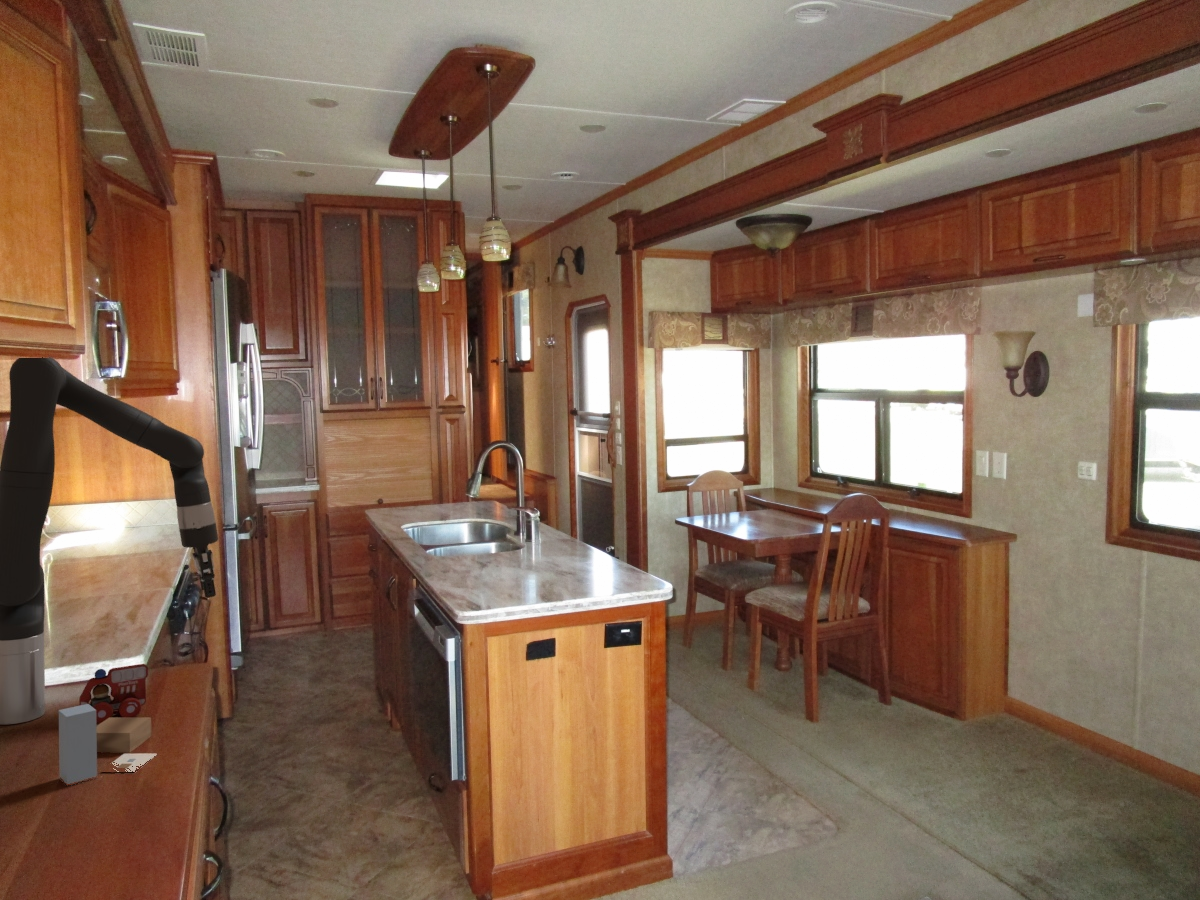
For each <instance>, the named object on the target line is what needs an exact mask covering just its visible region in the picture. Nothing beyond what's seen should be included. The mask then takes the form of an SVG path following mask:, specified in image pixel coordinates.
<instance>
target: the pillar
mask: <svg viewBox="0 0 1200 900" xmlns="http://www.w3.org/2000/svg"><path fill="white" fill-rule="evenodd" d="M89 704H90V703H89ZM89 704H85V705H80V706H79V705H76V706H71V707H66V708H62V709H59V710H58V751H59V752H58V753H59V755H58V756H59V757H58V760H59V764H58V765H59V778H60V777H61V778H62V779H63V780H64V782H65V783H67V784H70V783H74V782H78V781H82V780H84V779H88V778H92V777H96V776H97V777H98V753H97V728H96V726H97V723H96V710H95V709H94V708H93V707H92V706H90V705H89Z"/></svg>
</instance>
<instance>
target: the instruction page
mask: <svg viewBox="0 0 1200 900" xmlns="http://www.w3.org/2000/svg"><path fill="white" fill-rule="evenodd" d="M154 756H155V757H156V756H157V753H123V754H121V755H120V756H119V757H117V758H116V759H115V760H114V761H112V762H111V763H112V764H113V765H114V764H115V765H114V766H116V765H118V764H119V766H116V767H117V768H125V769H126V770H127V771H128V772H132V771H133V772H135V770H136V768H137V769H139V768H138V767H136V766H139V767H140V766H142V765H144V764H145V763H146V762H147V761H149V760H150V759H151V760H152V759H153V758H155V757H154ZM151 760H150V761H151ZM150 761H149V762H150ZM113 762H115V763H113ZM116 763H117V764H116ZM147 763H148V762H147ZM147 763H146V764H147ZM140 764H141V765H140ZM146 764H145V765H146ZM145 765H144V766H145ZM132 766H133V767H132ZM142 767H143V766H142ZM127 768H129V769H130V770H131V771H130V770H129V769H127ZM113 769H114V768H113ZM114 770H116V769H114ZM126 770H125V771H126ZM139 770H140V769H139ZM116 771H117V770H116ZM127 771H126V772H127ZM117 772H119V771H117ZM135 773H136V772H135Z"/></svg>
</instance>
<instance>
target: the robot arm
mask: <svg viewBox="0 0 1200 900" xmlns="http://www.w3.org/2000/svg"><path fill="white" fill-rule="evenodd" d="M51 357H52V356H50V357H49V358H43V357H42V358H19V357H18V358H17V359H16V360H15V361H14V362H13V363H12V365H11V367H10V368H9V390H10V391H9V394H10V395H9V396H10V402H9V403H10V406H9V407H10V412H9V422H8V428H7V431H6V435H5V439H4V444H3V448H2V454H1V459H0V460H1V461H0V725H14V724H15V725H16V724H21V723H26V722H29V721H33V720H36V719H38V718H40V717H42V716H44V714H45V713H46V700H45V699H46V697H45V696H46V686H45V685H46V683H45V682H46V681H45V678H46V677H45V676H46V674H45V669H46V668H45V574H44V573H45V572H44V570H43V567H42V565H41V539H42V534H43V529H44V526H45V524H46V523H45V522H46V520H47V515H48V512H49V508H50V504H51V501H52V494H53V486H54V478H55V470H56V469H55V468H56V467H55V465H56V461H55V460H56V454H55V439H54V420H55V419H54V418H55V413H56V408H57V405H59V406H61V407H62V408H66V409H68V410H70V411H73V412H75V413H77V414H78V415H80V416H83V418H86V419H88V420H89V421H92V422H93V423H95V424H96V425H98V426H100V427H102V429H105V430H106V431H108V432H110V433H112V434H113V435H115V436H118V437H119V438H121V439H123V440H125V441H127V442H129V443H132V444H134V445H135V446H137V447H139V448H142V449H145V450H148V451H150V452H151V453H153V454H155V455H157V456H158V457H160V458H162V459H163V460H166V461H167V462H168V463H169V464H168V465H169V468H170V471H171V472H170V473H171V477H172V479H173V491H174V498H175V503H176V510H177V511H176V514H177V515H176V518H177V524H178V530H179V531H178V532H179V536H180V541H181V542H180V543H181V546H182V547H183V548H186V549H187V548H192V550H193V552H192V553H191V557H192V560H193V562H194V569H196V573H197V575H198V578H199V583H200V589H201V591H203V592H204V597H205V599H209V598H213V597H215V596H216V595H217V594H216V593H217V592H216V587H215V581H214V580H215V577H216V575H215V573H214V571H215V564H214V555H213V551H212V549H209V548H208V546H209V545H212V544H215V543H216V542H218V540H219V534H218V529H217V523H216V517H215V512H214V507H213V505H212V500H211V494H210V486H209V484H208V481H207V478H206V476H205V469H204V462H203V461H204V460H203V459H204V456H205V455H204V453H205V449H204V446H203V445H202V443H201V442H200V441H199V440H198V439H197V438H194V437H193V436H191V435H188V434H186V433H185V432H182V431H180V430H178V429H176V428H173V427H171V426H169V425H167V424H165V423H164V422H162V420H160V419H158V418H156V417H154V416H152V415H150V413H149V414H148V413H146V412H145V411H144V410H141V409H139V408H138V407H136V406H133V405H131V404H128V403H127V402H124V401H122V400H120V399H118V398H116V397H113V396H111V395H108V394H106V393H104V392H102V391H100V390H98V389H96V388H94V387H92V386H91V385H89V384H87V383H85V382H84V381H82V380H81V379H79V378H78V377H76V376H74V375H73V374H72V373H70V371H68V370H67V369H65V368H64V367H62V365H61V364H60V363H59V361H57V360H56V359H55V358H54V357H52V358H51Z"/></svg>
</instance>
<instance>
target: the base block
mask: <svg viewBox="0 0 1200 900" xmlns="http://www.w3.org/2000/svg"><path fill="white" fill-rule="evenodd" d="M96 728H97V752H101V753H100V754H103V752H110V753H112V754H113V753H115V754H116V753H118V754H119V753H121V754H122V753H123V754H131V752H132V751H134V750H135V749H137V748H138V747H139V746H140V745H142V744H143V743H144V742H146V741H147V740H148V739H150V737H152V717H148V716H147V717H146V716H145V717H137V716H136V717H122V716H121V717H118V716H117V717H113V716H112V717H109V718H108V719H106V720H105V721H103V722H102V723H98V724H96ZM110 753H109V754H110Z"/></svg>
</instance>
